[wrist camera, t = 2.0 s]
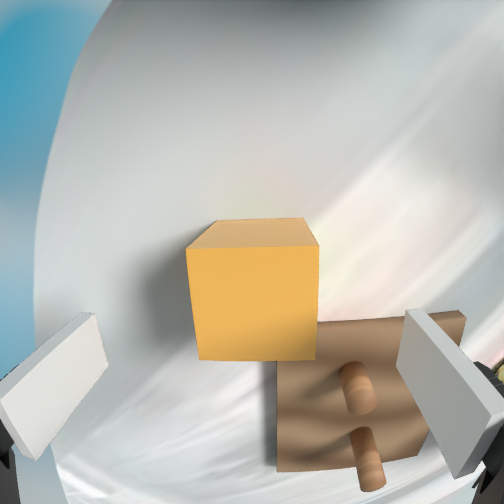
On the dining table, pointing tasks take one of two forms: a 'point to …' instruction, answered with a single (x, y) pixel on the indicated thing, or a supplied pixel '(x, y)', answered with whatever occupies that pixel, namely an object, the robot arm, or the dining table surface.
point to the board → (326, 400)
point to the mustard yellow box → (255, 290)
